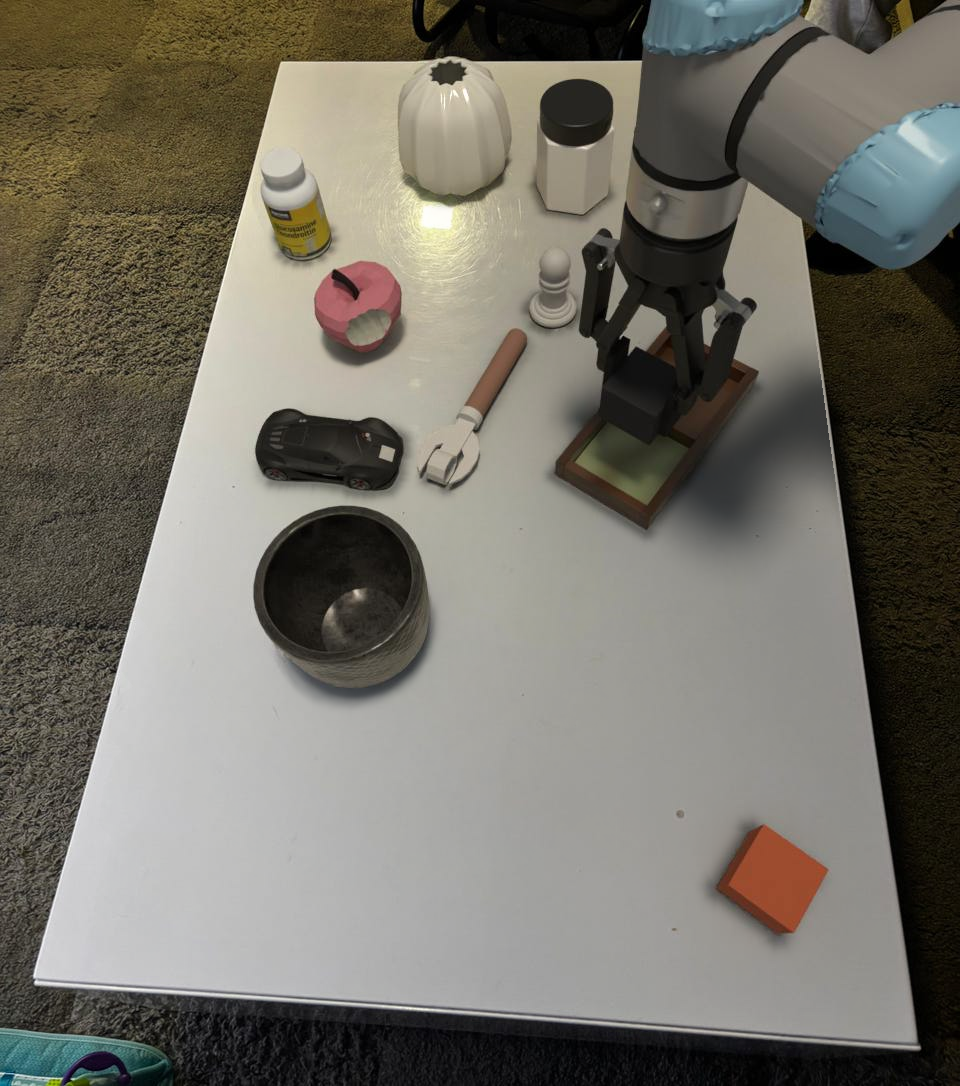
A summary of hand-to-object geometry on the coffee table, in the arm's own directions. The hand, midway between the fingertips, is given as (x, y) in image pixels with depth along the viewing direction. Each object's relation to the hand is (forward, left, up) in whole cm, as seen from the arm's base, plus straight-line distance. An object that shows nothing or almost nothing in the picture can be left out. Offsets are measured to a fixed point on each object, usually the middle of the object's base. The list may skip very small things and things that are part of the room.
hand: (640, 408), depth 75 cm
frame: (0, -5, -10) cm, 11 cm away
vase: (+41, -24, -10) cm, 49 cm away
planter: (+10, +30, -10) cm, 33 cm away
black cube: (0, 0, 0) cm, 0 cm away
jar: (+27, -29, -10) cm, 41 cm away
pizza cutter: (+17, +4, -10) cm, 20 cm away
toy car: (+26, +17, -10) cm, 33 cm away
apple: (+33, +3, -10) cm, 35 cm away
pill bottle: (+49, -4, -10) cm, 50 cm away
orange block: (-30, +27, -10) cm, 41 cm away
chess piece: (+18, -12, -10) cm, 24 cm away
